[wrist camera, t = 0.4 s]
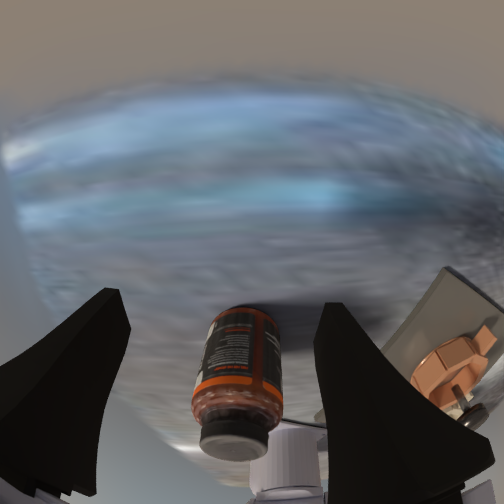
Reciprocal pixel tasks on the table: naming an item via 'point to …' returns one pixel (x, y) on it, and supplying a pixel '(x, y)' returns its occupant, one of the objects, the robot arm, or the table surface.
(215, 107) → the table surface
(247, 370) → the supplement bottle
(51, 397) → the robot arm
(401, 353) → the slate board
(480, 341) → the terracotta pot
